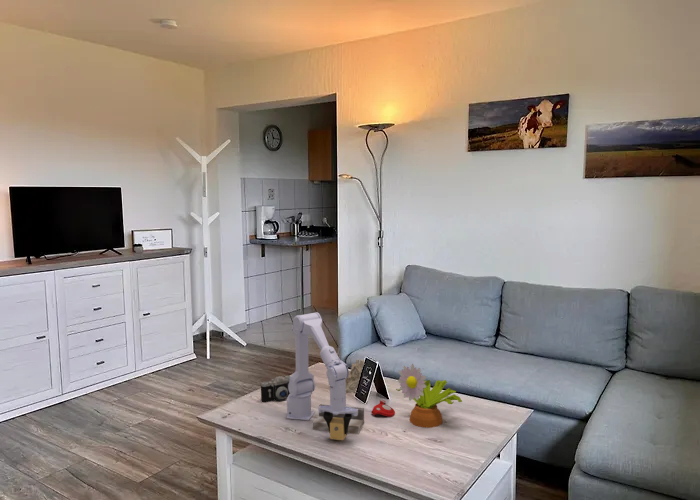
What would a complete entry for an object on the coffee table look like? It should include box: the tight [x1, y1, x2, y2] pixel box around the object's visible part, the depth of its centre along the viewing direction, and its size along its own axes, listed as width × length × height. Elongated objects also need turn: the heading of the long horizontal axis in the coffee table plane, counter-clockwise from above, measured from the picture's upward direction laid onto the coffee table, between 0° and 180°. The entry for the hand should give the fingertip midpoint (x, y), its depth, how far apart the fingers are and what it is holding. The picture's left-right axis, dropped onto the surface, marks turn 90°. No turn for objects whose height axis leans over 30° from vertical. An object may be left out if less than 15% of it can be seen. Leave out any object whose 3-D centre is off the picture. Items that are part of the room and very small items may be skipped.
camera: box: [260, 375, 291, 404], centre depth 228 cm, size 15×7×10 cm, turn 122°
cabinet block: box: [329, 417, 348, 441], centre depth 189 cm, size 5×6×6 cm
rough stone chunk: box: [346, 358, 365, 394], centre depth 242 cm, size 16×16×15 cm
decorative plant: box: [395, 363, 463, 429], centre depth 204 cm, size 27×24×25 cm
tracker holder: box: [370, 398, 396, 418], centre depth 213 cm, size 12×4×10 cm
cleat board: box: [312, 403, 365, 435], centre depth 201 cm, size 18×10×6 cm, turn 76°
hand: (338, 432), depth 189 cm, fingers closed on cabinet block, 5 cm apart
